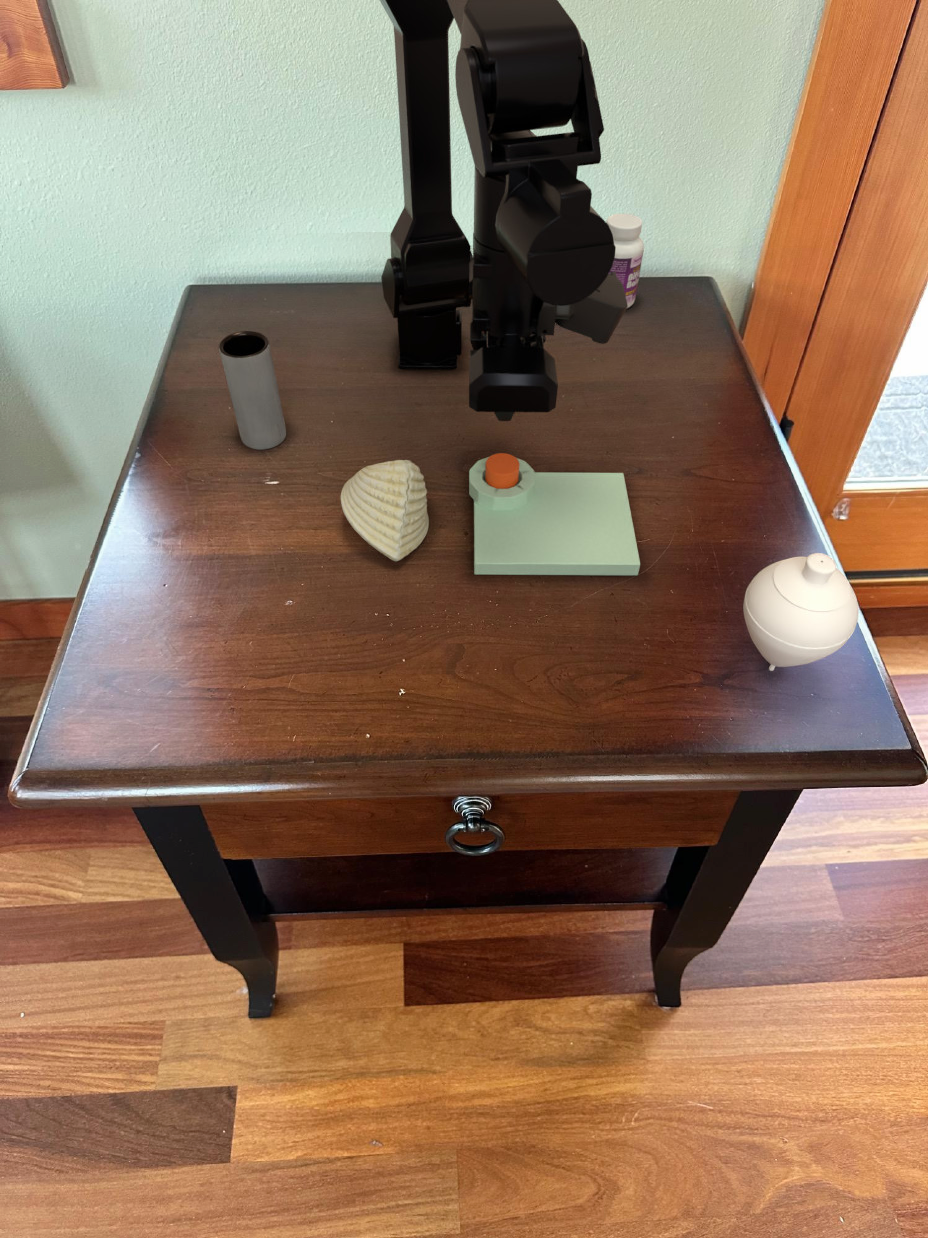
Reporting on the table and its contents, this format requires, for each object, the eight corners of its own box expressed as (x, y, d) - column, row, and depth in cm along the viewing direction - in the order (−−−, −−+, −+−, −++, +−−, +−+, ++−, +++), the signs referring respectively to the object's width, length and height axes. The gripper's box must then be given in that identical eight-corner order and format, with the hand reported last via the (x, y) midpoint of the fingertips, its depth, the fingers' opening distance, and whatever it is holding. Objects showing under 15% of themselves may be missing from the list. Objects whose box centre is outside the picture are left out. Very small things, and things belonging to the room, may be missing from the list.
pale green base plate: (469, 574, 71) (469, 549, 69) (468, 480, 79) (469, 454, 77) (638, 575, 71) (643, 550, 69) (620, 480, 79) (625, 455, 77)
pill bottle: (633, 314, 99) (647, 233, 92) (588, 309, 100) (598, 228, 92) (636, 292, 103) (649, 212, 95) (593, 287, 103) (603, 207, 96)
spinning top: (821, 721, 62) (884, 615, 53) (716, 697, 63) (760, 590, 54) (822, 643, 66) (879, 534, 57) (724, 623, 68) (765, 513, 59)
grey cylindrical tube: (295, 429, 84) (278, 336, 76) (270, 455, 82) (250, 361, 74) (257, 417, 86) (237, 325, 78) (231, 442, 83) (208, 349, 75)
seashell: (426, 460, 78) (457, 471, 70) (409, 549, 79) (438, 568, 72) (342, 444, 74) (366, 453, 67) (326, 537, 76) (347, 555, 69)
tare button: (485, 489, 74) (486, 474, 73) (485, 468, 76) (485, 452, 75) (519, 489, 74) (520, 474, 73) (517, 468, 76) (518, 452, 75)
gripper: (646, 303, 53) (611, 492, 65) (613, 179, 65) (589, 357, 77) (470, 302, 53) (467, 491, 65) (470, 178, 65) (468, 356, 77)
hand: (504, 418), depth 71 cm, fingers closed
